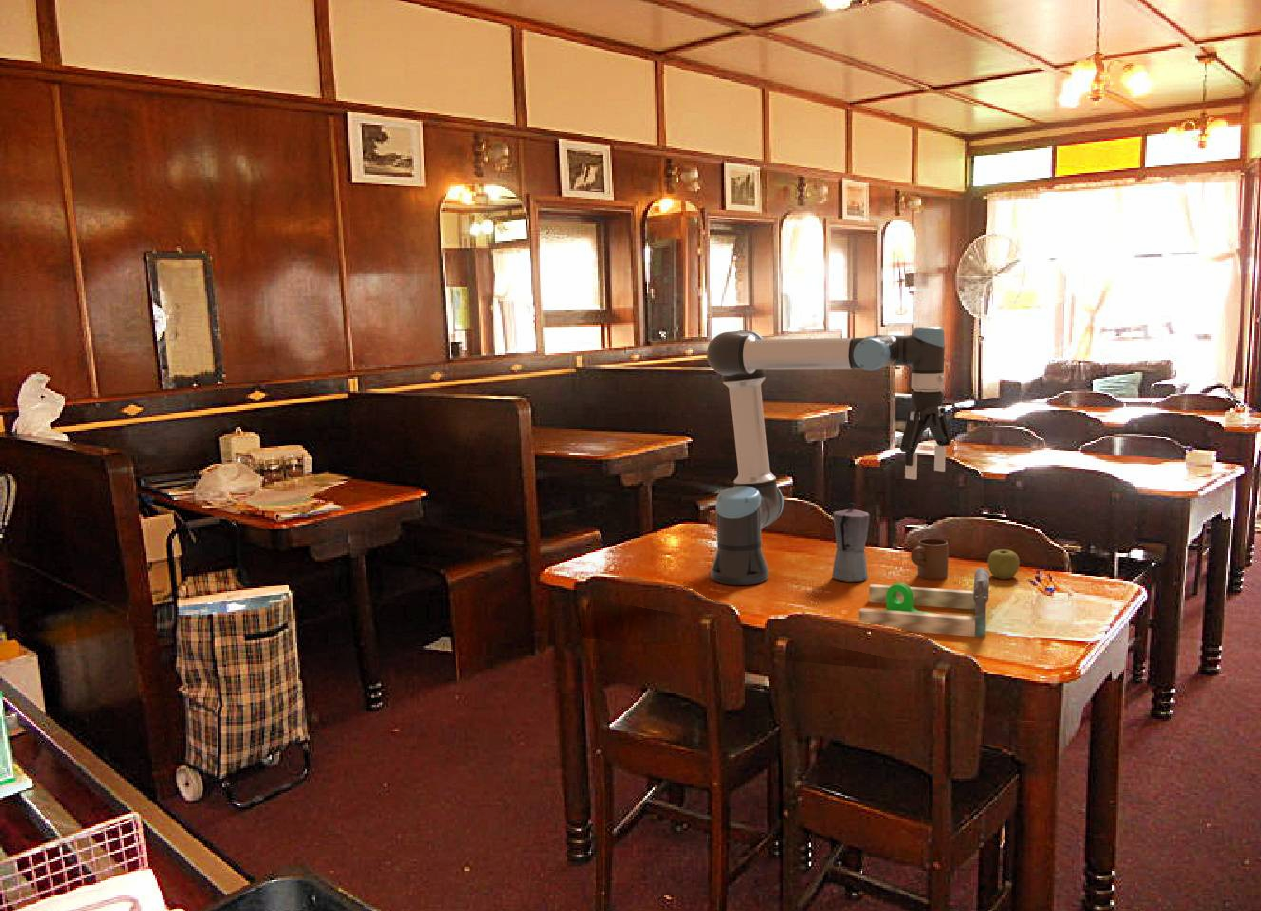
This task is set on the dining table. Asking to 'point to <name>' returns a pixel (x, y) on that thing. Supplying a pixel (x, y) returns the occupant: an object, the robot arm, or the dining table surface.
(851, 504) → the moka pot
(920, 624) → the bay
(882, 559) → the dining table surface
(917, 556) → the mug
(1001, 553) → the apple
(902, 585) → the mechanical part
